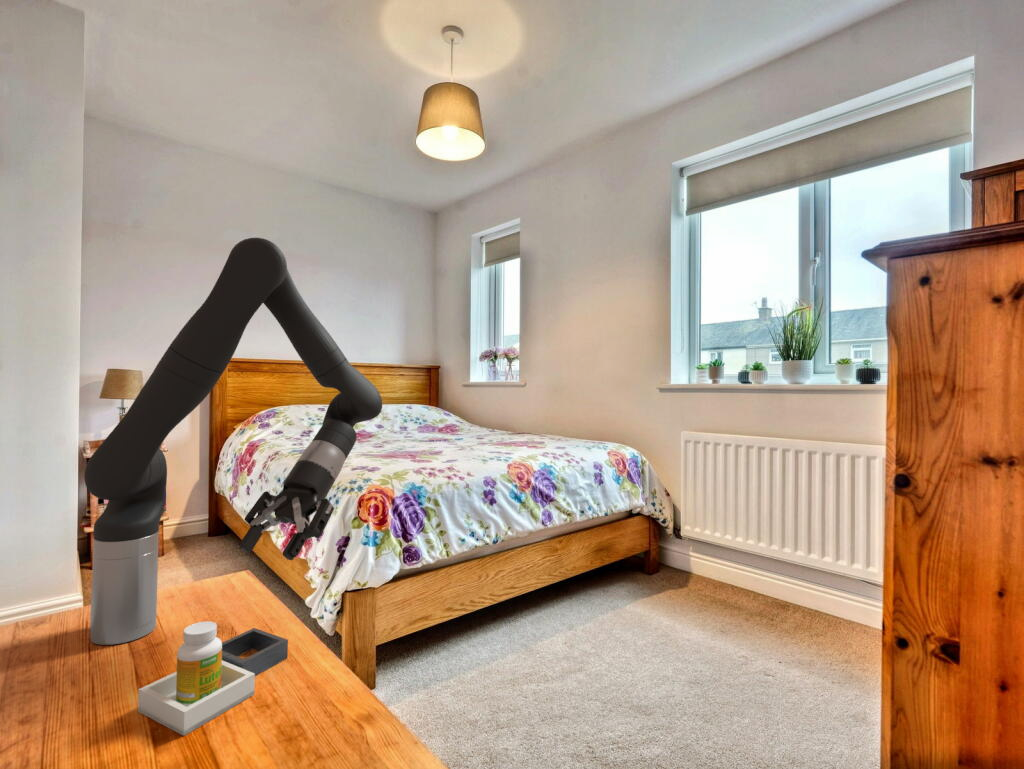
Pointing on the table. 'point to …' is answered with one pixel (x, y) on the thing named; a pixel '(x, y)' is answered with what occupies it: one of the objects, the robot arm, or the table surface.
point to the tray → (183, 720)
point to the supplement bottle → (198, 663)
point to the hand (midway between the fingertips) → (265, 554)
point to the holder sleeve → (266, 643)
